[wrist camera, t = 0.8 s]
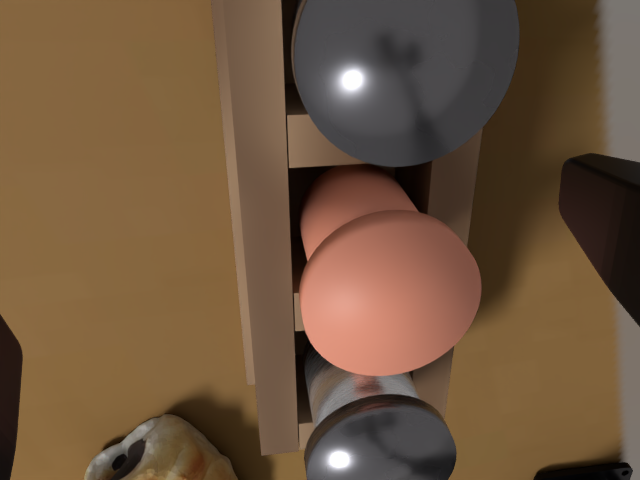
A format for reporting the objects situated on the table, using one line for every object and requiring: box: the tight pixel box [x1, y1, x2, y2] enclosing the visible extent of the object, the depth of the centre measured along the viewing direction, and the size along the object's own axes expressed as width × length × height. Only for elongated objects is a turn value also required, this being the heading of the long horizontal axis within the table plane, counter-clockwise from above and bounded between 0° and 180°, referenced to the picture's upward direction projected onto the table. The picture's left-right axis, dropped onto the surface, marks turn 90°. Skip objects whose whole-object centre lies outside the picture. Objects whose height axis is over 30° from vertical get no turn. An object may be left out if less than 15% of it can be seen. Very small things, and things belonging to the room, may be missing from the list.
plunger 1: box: [291, 0, 519, 167], centre depth 15 cm, size 5×5×6 cm
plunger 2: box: [303, 340, 456, 480], centre depth 21 cm, size 5×5×6 cm
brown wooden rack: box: [211, 0, 483, 456], centre depth 21 cm, size 9×21×5 cm, turn 0°
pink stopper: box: [298, 164, 482, 376], centre depth 18 cm, size 5×5×6 cm
